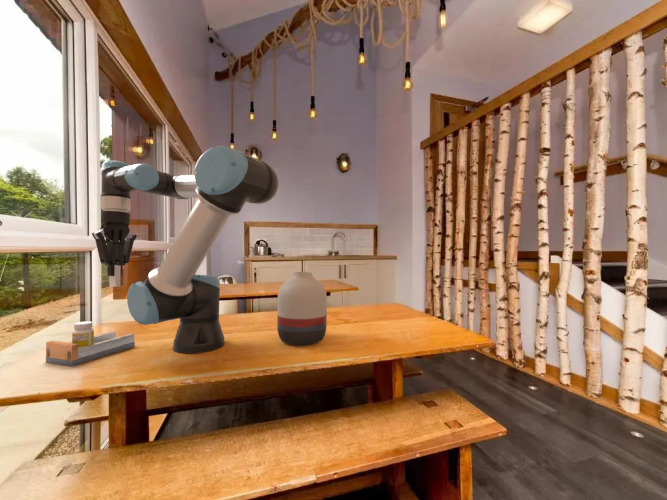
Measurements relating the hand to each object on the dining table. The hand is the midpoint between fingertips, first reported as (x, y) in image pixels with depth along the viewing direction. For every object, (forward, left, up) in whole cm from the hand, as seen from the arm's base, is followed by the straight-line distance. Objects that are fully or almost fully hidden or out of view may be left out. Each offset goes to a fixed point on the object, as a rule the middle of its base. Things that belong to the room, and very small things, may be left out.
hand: (114, 286), depth 96 cm
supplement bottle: (0, +9, -18) cm, 20 cm away
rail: (0, +6, -19) cm, 20 cm away
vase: (-53, -26, -20) cm, 62 cm away
